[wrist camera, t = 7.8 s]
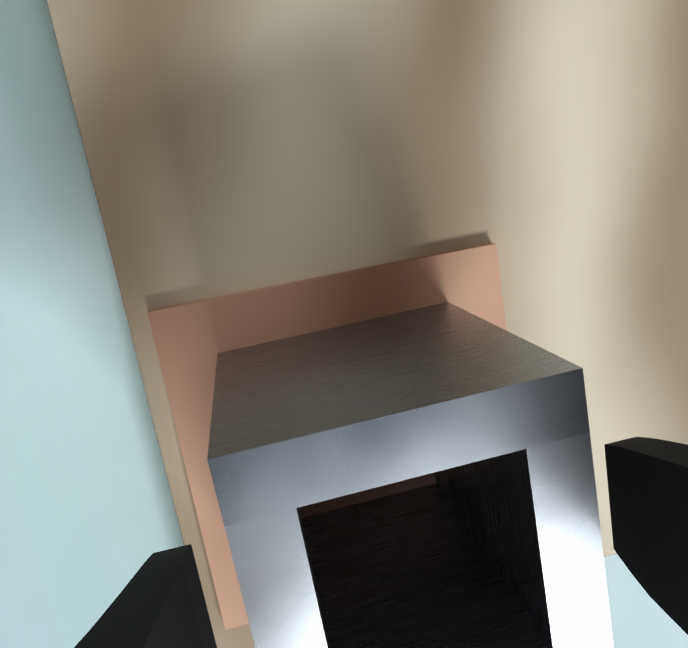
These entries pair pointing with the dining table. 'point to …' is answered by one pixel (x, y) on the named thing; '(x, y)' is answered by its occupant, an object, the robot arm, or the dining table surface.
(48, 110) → the dining table surface
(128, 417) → the dining table surface
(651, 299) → the stand
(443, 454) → the collar
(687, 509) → the robot arm
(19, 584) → the dining table surface
